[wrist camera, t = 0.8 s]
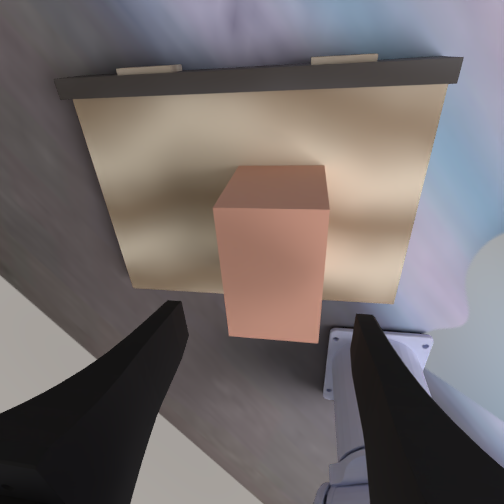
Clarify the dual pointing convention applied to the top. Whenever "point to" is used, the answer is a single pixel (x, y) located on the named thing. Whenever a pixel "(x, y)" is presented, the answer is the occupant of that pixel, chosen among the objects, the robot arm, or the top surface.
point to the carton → (273, 250)
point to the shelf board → (263, 158)
